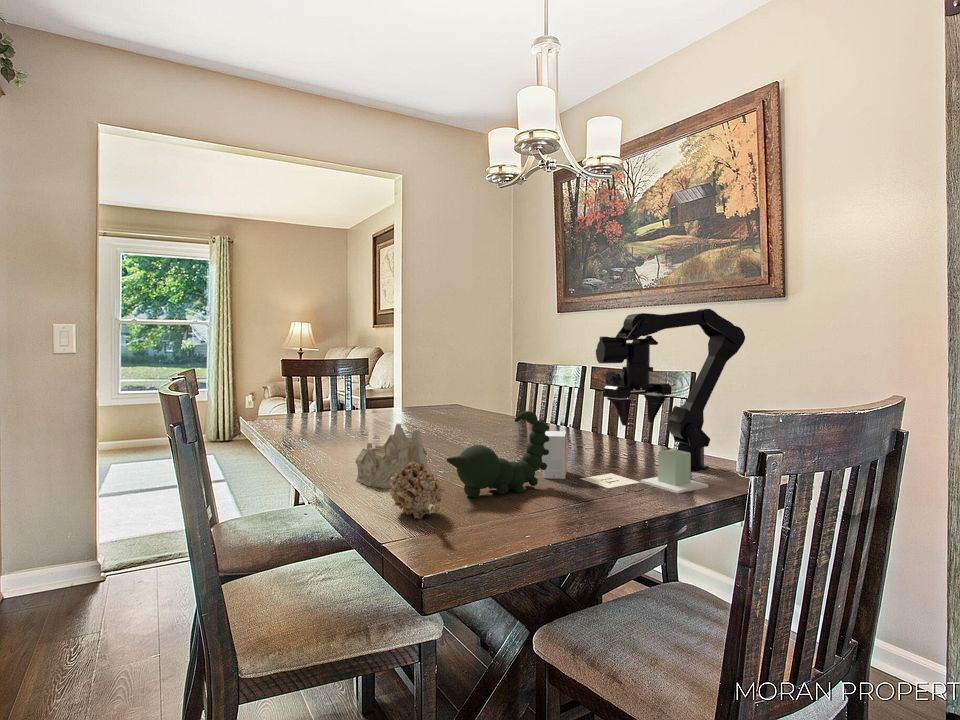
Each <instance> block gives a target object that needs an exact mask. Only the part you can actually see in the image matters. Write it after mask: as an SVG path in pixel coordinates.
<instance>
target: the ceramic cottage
mask: <svg viewBox="0 0 960 720" xmlns="http://www.w3.org/2000/svg"><path fill="white" fill-rule="evenodd" d="M427 455H428V452H427V451H426V449H425V447H424V445H423V440H422V436H421V430H420V428H413V429H412V431H411V436H407V435H406V433H405V430H404V428H403V427H402V423H398V422H397V423H396V424H395V427H394V432H393V434H391V433H390V435H389V436H388V438H387V440H386V441H385V443H384V444H382V445H375V447H373V443H372V442H367V443H366V448H365V447H364V448H362V449H361V451H360V452H359V454H358V455H357V457H356V458H355V464H356V465H357V475H356V480H357V481H358V482H357V481H356V482H357V483H359V482H361V483H360V484H362V483H363V484H362V485H364V484H365V486H366V485H368V486H367V487H373V488H375V487H376V488H379V487H380V488H382V489H391V488H392V486H391V485H390V483H392V481H391V477H395V472H396V473H399V472H401V470H402V469H403V468H404V465H405V466H406V467H407V465H408V463H409V462H411V461H412V462H416V464H417V463H418V464H419V466H420V465H421V463H423V464H424V466H425V467H426V468H428V469H429V471H430V472H431V473H432V471H431V470H432V469H431V468H430V467H429V466H428V459H427Z"/></svg>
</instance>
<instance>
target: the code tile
mask: <svg viewBox="0 0 960 720" xmlns="http://www.w3.org/2000/svg"><path fill="white" fill-rule="evenodd" d="M579 480H583V481H586V482H589V483H592V484H595V485H597V486H600V487H604V488H606V489H611V488H617V487H623V486H628V485H634V484H638V483H641V481H638V480H634V479H631V478H629V477H628V478H627V477H624V476H621V475H619V474H618V475H617V474H615V473H611V472H610V473H606V474H598V475H593V476H588V477H581V478H579Z"/></svg>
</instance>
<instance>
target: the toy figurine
mask: <svg viewBox="0 0 960 720" xmlns="http://www.w3.org/2000/svg"><path fill="white" fill-rule="evenodd" d="M521 420H522V421H524V420H525V421H526V422H527V423H528V424H530V425H531V432H530V433H529V436H528V440H529V443H528V444H527V445H526V450H525V452H526V453H525V454H523V456H522V459H521V460H519V461H512V460H511V461H509V460H508V459H505V458H503V457H498V455H497V454H496V452H495V451H494V450H492V449H491V448H490V447H488V446H486V445H481V444H475V445H470V446H468V447H467V448H465V449H464V450H462V452H461V453H460V454H459V455H457V456H456V455H455V456H452V457H447V458H446V462H447V463H449V464H450V465H452V466H453V467H454V468H456V472H457V476H458V478H459V479H460V482H461V483H463V484H464V487H463V491H464V493H465V495H466V496H468V497H470V498H473V499H474V498H478V496H479V495H480V494H481V490H483V489H487V488H488V489H490V490H492V489H496V491H497V493H499V494H500V495H504V494H506V493H508V491H509V490H514V491H515V493H517V494H521V493H523V492H524V489H525V488H524V485H525V483H528V484H529V485H530V486H532V487H535V486H537V485H538V483H539V482H538V481H539V480H538V478H537V477H536V472H537V471H538V470H539V471H541V470H542V471H543V470H546V468H547V464H546V463H543V459H542V456H543V455H548V454H549V451H548V449H545V448H544V444H545V442H548V441H549V437H548V436H546V434H545V432H546V431H550V426H549V425H548V424H547V423H546V422H545V421H544V420H541V419H538V416H537V414H535V413H534V412H532V411H528V410H525V411H521V412H519V413H518V414H517V415H516V417H515V418H514V422H515V423H518V422H519V421H521Z"/></svg>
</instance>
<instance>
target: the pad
mask: <svg viewBox="0 0 960 720" xmlns="http://www.w3.org/2000/svg"><path fill="white" fill-rule="evenodd" d="M640 483H642V484H645V485H648V486H651V487H655V488H658V489H662V490H664V491H667V492H672V493H675V494H682V493H687V492H692V491H697V490H701V489H707V488H709V484H707V483H703V482H699V481H697V480H692V479H690V483H688V484H684V485H679V486H673V485H669V484H666V483H662V482H659V481H658V476H655V477H648V478H643V479H640Z"/></svg>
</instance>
